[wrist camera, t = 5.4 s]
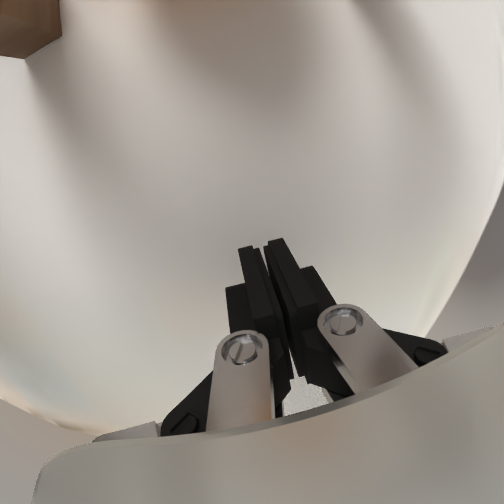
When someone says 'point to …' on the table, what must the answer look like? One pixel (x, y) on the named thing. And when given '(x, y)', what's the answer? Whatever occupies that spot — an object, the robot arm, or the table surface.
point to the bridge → (27, 26)
